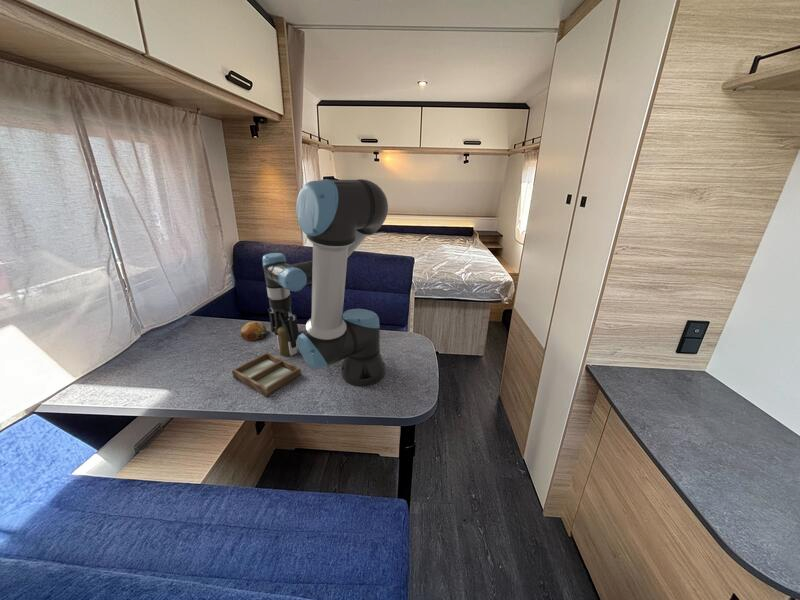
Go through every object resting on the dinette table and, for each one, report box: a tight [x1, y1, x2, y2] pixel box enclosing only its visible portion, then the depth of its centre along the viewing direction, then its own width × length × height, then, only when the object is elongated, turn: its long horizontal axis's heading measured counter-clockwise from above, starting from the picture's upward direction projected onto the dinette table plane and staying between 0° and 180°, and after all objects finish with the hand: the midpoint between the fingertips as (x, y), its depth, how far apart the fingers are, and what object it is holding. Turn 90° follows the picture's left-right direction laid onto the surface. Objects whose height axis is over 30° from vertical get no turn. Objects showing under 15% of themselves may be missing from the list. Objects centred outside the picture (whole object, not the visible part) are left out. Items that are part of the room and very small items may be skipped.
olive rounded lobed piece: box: [277, 326, 291, 357], centre depth 120 cm, size 6×6×11 cm
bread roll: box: [240, 321, 268, 342], centre depth 134 cm, size 10×10×8 cm
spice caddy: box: [231, 351, 302, 398], centre depth 107 cm, size 18×14×3 cm
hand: (287, 351), depth 122 cm, fingers closed on olive rounded lobed piece, 6 cm apart
